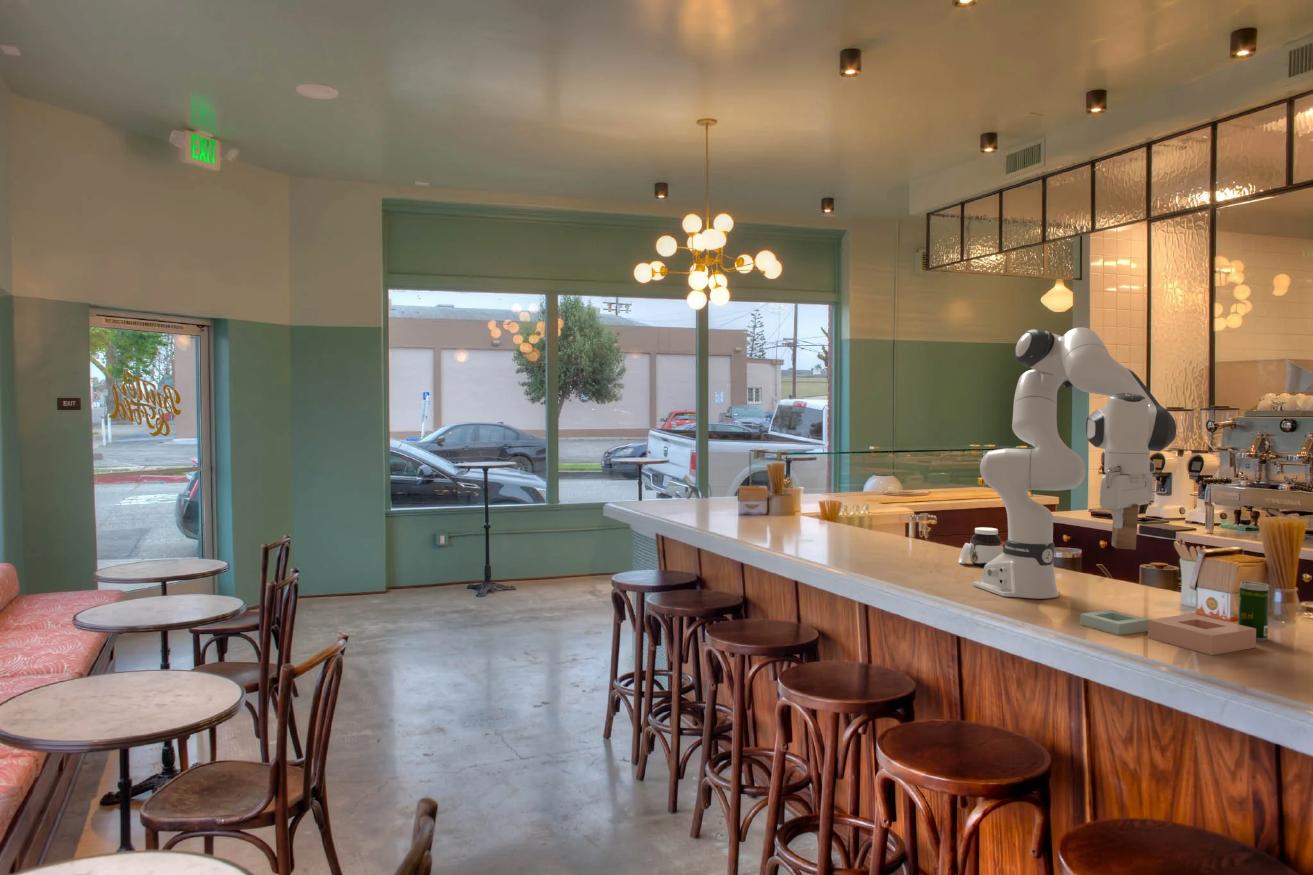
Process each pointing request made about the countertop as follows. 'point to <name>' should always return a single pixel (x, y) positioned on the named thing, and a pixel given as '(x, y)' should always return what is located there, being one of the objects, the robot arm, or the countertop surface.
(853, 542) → the countertop surface
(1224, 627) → the socket block
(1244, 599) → the beer can
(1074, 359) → the robot arm
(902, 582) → the countertop surface
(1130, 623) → the green square frame
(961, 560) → the spread jar
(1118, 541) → the plug
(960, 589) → the countertop surface
